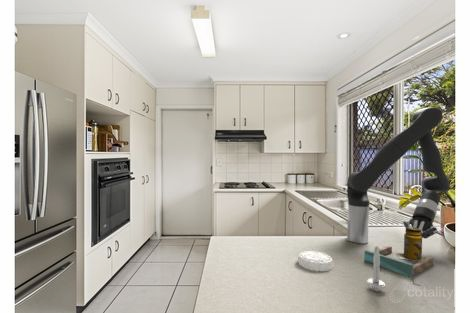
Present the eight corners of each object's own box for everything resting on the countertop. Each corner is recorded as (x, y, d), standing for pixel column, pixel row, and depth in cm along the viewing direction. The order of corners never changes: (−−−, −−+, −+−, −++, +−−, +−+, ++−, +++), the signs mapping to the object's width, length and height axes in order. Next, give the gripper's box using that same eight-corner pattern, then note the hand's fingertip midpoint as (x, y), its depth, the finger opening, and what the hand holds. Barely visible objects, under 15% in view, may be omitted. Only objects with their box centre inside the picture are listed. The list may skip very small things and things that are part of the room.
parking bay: (388, 251, 114) (389, 242, 114) (433, 264, 101) (433, 253, 101) (364, 261, 101) (364, 250, 101) (411, 277, 88) (411, 265, 89)
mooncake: (313, 274, 89) (313, 263, 89) (291, 261, 100) (291, 251, 100) (339, 269, 94) (340, 259, 94) (316, 257, 105) (316, 248, 105)
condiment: (425, 262, 102) (426, 231, 102) (400, 259, 105) (401, 229, 105) (419, 256, 109) (419, 227, 109) (395, 253, 112) (396, 224, 112)
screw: (388, 293, 77) (371, 293, 77) (379, 285, 82) (363, 285, 82) (389, 249, 77) (373, 248, 77) (380, 243, 82) (364, 243, 82)
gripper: (406, 203, 120) (393, 234, 113) (441, 208, 110) (430, 243, 102) (410, 214, 123) (398, 244, 116) (445, 219, 113) (434, 254, 105)
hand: (413, 243), depth 109 cm, fingers closed
